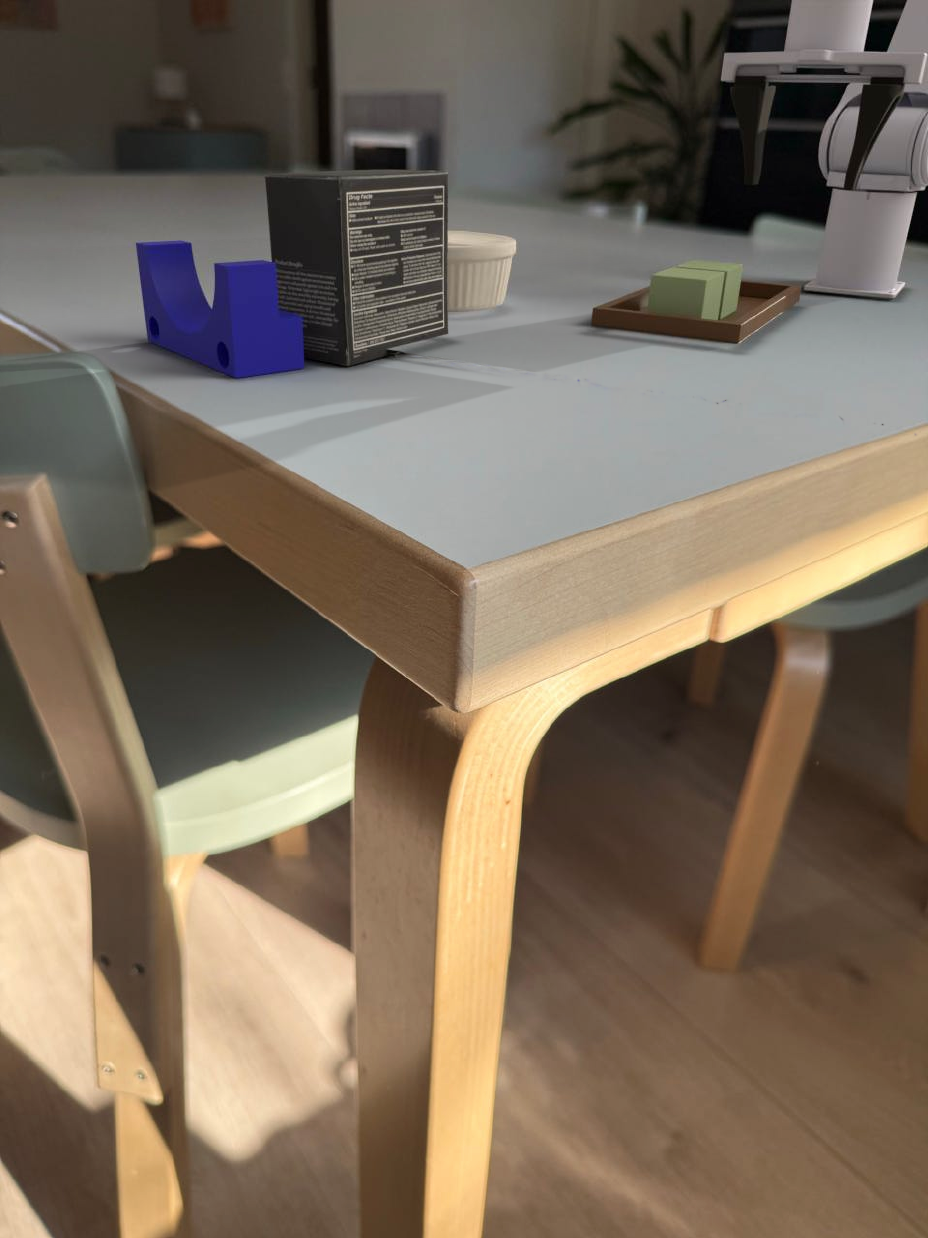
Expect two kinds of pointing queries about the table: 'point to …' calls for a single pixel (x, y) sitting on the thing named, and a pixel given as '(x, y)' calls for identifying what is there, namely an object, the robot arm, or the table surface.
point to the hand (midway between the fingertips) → (799, 186)
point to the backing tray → (751, 314)
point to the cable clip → (218, 312)
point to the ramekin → (477, 269)
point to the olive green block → (729, 284)
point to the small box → (361, 258)
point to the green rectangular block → (686, 293)
